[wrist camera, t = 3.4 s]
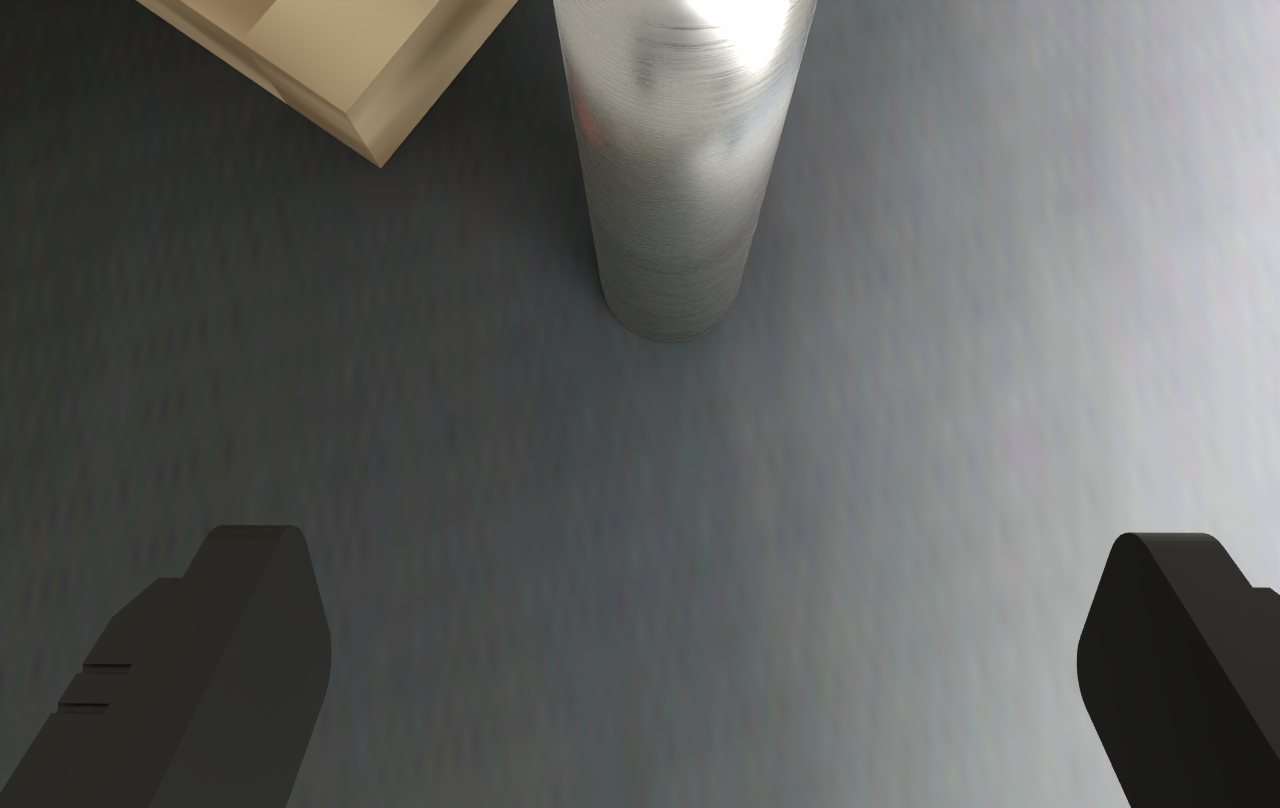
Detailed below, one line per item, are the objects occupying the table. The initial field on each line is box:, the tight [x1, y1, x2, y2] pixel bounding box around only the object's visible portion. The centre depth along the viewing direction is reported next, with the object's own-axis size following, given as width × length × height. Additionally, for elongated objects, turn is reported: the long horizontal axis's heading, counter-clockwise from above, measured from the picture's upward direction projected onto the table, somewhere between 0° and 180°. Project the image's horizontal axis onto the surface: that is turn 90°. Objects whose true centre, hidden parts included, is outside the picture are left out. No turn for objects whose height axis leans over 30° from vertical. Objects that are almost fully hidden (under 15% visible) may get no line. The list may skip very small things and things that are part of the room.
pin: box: [553, 0, 817, 343], centre depth 18 cm, size 4×4×14 cm
